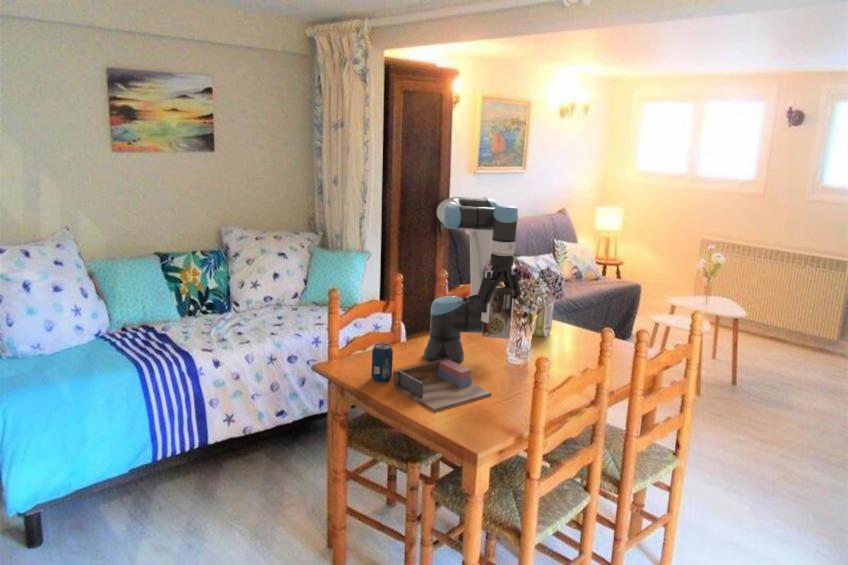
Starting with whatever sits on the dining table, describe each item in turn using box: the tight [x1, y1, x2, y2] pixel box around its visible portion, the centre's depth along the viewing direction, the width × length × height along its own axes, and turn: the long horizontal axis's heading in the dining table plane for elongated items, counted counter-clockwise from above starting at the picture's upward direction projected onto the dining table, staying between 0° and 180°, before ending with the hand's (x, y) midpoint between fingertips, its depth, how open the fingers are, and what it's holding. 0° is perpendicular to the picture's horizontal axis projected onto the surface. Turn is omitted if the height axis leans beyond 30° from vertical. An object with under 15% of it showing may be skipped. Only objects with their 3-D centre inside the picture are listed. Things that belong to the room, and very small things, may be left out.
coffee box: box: [481, 285, 513, 340], centre depth 208 cm, size 9×6×16 cm
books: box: [437, 360, 473, 387], centre depth 216 cm, size 12×5×5 cm, turn 38°
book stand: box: [392, 358, 492, 413], centre depth 208 cm, size 22×24×6 cm
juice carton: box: [532, 299, 555, 338], centre depth 272 cm, size 8×9×19 cm
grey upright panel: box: [398, 371, 423, 398], centre depth 204 cm, size 12×1×5 cm, turn 38°
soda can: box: [371, 342, 394, 383], centre depth 215 cm, size 7×7×12 cm
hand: (497, 319), depth 209 cm, fingers closed on coffee box, 10 cm apart
